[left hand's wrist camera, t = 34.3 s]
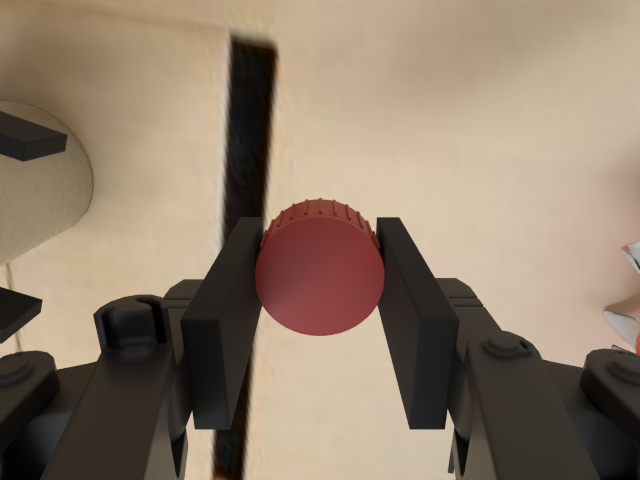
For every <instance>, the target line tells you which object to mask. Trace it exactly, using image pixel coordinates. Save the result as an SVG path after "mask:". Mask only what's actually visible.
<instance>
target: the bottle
mask: <svg viewBox="0 0 640 480" xmlns="http://www.w3.org/2000/svg"><path fill="white" fill-rule="evenodd" d="M0 111H2V112H4V113H7V114H10V115H13V116H16V117H19V118H21V119H24V120H27V121H30V122H33V123H36V124H39V125H41V126H44V127H47V128H50V129H53V130H56V131H59V132H61V133H64V134H67V135H68V137H67V143H66V150H65V152H61V153H57V154H53V155H49V156H45V157H41V158H37V159H33V160H29V161H25V162H22V161H19V160H16V159H13V158H10V157H7V156H4V155H1V154H0V267H1V266H2V265H4V264H6V263H8V262H10V261H11V260H13V259H15V258H17V257H19V256H20V255H22V254H24V253H26V252H27V251H29V250H31V249H33V248H35V247H36V246H38V245H40V244H42V243H43V242H45V241H47V240H49V239H51V238H52V237H54V236H56V235H58V234H59V233H61V232H63V231H65V230H67V229H68V228H70V227H72V226H73V225H74V224H76V223H77V222H78V221H79V220H80V219H81V218H82V216H83V215H84V213H85V212H86V210H87V208H88V206H89V204H90V200H91V197H92V190H93V177H92V171H91V167H90V164H89V160H88V158H87V156H86V153H85V151H84V150H83V148H82V146H81V144H80V143H79V141H78V140H77V139H76V137H75V136H74V135H73V134H72V132H71V131H70V130H69V129H68V128H67V127H66V126H65V125H64V124H62V123H61V122H60V121H59V120H58V119H56V118H55V117H53V116H52V115H50V114H49V113H47V112H45V111H43V110H41V109H39V108H37V107H35V106H32V105H29V104H25V103H21V102H15V101H0Z"/></svg>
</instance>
